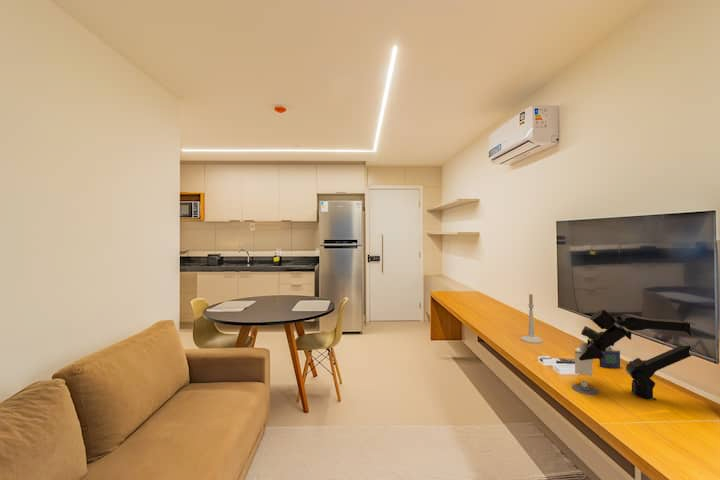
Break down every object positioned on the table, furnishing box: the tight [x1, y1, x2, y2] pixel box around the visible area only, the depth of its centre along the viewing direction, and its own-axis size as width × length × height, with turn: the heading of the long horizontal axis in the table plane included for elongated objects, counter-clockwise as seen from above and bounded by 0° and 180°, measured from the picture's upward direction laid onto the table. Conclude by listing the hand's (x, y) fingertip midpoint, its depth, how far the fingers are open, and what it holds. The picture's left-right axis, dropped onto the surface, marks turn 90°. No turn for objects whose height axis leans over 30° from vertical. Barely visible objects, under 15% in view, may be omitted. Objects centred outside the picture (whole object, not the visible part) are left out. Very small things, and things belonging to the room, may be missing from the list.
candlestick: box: [520, 294, 544, 345], centre depth 220 cm, size 13×13×30 cm
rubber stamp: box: [574, 342, 594, 377], centre depth 153 cm, size 6×6×13 cm
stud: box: [581, 380, 589, 391], centre depth 150 cm, size 3×3×3 cm
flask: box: [599, 346, 621, 369], centre depth 175 cm, size 9×3×11 cm, turn 78°
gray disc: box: [570, 383, 600, 396], centre depth 150 cm, size 10×10×1 cm
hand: (580, 357), depth 154 cm, fingers closed on rubber stamp, 6 cm apart
